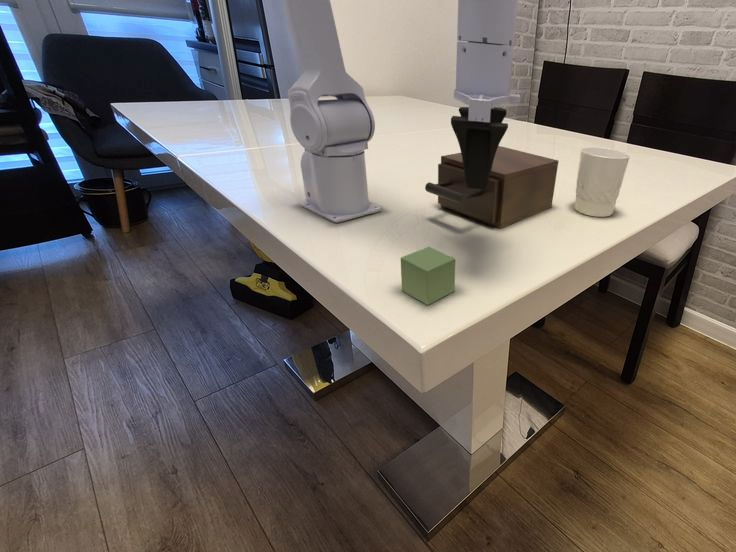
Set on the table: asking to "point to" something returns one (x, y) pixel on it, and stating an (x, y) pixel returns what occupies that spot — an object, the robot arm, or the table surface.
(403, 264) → the block
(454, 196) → the drawer
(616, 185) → the white cup
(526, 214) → the cabinet
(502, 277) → the table surface
